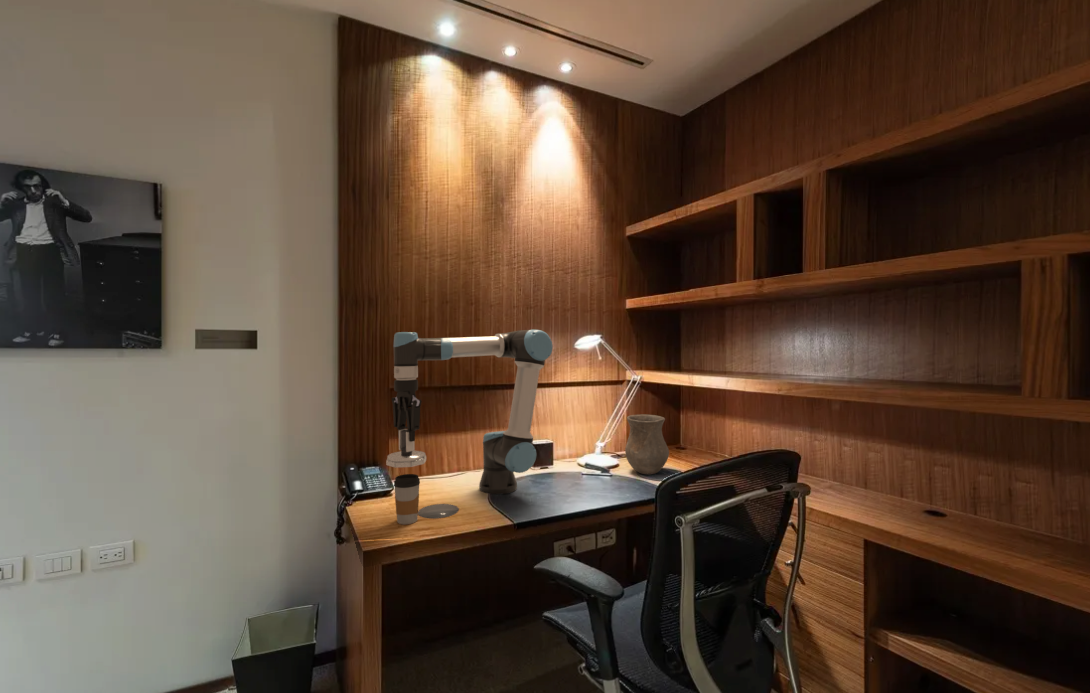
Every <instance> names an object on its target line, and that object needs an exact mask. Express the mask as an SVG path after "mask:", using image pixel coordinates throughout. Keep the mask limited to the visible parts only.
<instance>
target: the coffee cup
mask: <svg viewBox="0 0 1090 693" xmlns="http://www.w3.org/2000/svg"><path fill="white" fill-rule="evenodd" d="M420 480H421V479H420V478H419V475H418V474H415V473H404V474H400V475H397V476H396V477H395V480H394V481H393V486H394V500H395V502H394V504H395V512H396V522H397V524H399V525H411V524H413V523H416V522H418V517H419V515H418V511H419V503H420V502H419V501H420V500H419V498H420V484H421V482H420Z"/></svg>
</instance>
